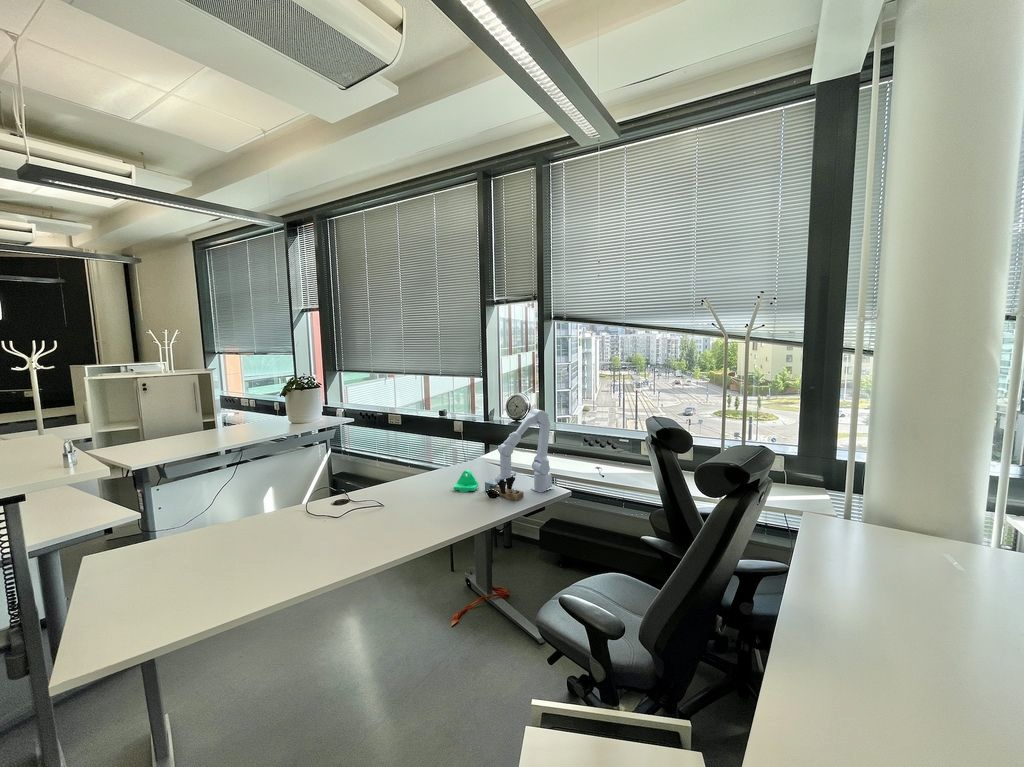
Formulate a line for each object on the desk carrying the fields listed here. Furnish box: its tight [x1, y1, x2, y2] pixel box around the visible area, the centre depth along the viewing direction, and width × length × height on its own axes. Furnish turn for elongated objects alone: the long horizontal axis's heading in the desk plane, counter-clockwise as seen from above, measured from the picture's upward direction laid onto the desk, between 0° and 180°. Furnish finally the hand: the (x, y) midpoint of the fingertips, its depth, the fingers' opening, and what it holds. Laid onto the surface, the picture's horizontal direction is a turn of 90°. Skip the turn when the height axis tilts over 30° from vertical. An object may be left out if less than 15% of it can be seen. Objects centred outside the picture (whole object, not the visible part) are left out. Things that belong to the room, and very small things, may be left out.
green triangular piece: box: [453, 469, 479, 493], centre depth 243 cm, size 12×8×10 cm, turn 79°
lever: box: [491, 485, 525, 502], centre depth 233 cm, size 17×6×3 cm, turn 54°
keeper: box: [484, 479, 499, 492], centre depth 239 cm, size 7×5×5 cm
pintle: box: [511, 488, 518, 494], centre depth 230 cm, size 2×2×4 cm
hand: (506, 492), depth 233 cm, fingers closed on lever, 4 cm apart
